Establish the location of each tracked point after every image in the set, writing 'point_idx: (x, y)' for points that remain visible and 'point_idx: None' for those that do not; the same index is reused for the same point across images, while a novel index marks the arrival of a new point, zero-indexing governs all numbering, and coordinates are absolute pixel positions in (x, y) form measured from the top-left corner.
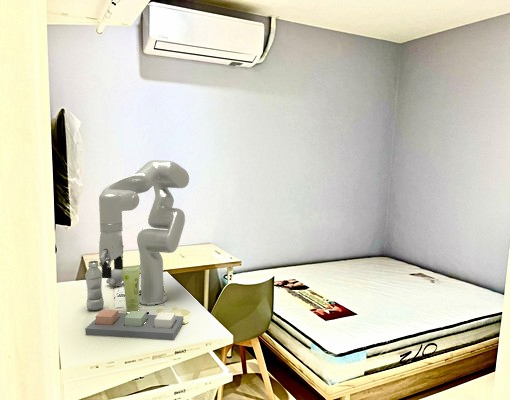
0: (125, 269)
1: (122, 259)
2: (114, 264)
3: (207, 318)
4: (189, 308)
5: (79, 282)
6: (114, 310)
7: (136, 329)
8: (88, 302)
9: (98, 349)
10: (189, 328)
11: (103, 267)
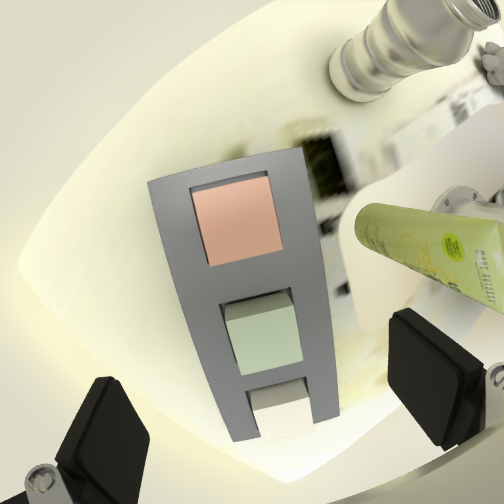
0: (493, 247)
1: (451, 443)
2: (418, 346)
3: (364, 429)
4: None
5: None
6: (274, 235)
7: (213, 357)
8: (337, 53)
9: (99, 289)
10: None
11: (55, 480)
